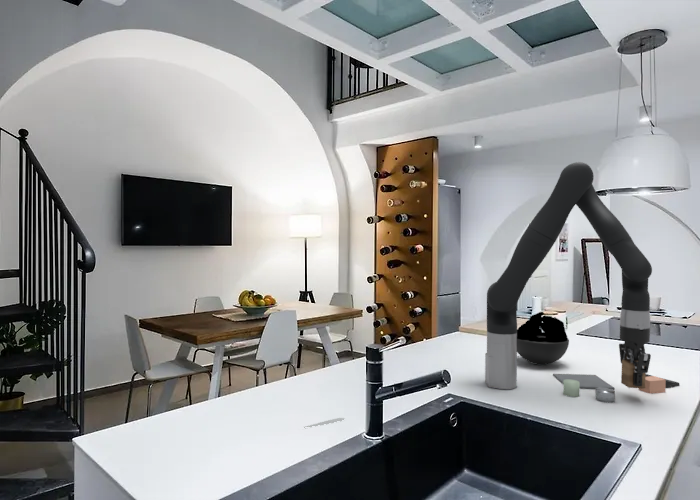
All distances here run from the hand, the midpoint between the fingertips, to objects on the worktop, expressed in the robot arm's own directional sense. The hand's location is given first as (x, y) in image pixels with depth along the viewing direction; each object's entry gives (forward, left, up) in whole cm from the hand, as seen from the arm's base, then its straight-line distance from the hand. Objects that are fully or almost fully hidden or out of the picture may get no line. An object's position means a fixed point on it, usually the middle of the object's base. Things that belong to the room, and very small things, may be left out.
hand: (633, 382), depth 137 cm
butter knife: (-93, -32, -5) cm, 99 cm away
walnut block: (0, 0, -1) cm, 1 cm away
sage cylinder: (-17, +2, -5) cm, 17 cm away
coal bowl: (-16, +37, -5) cm, 41 cm away
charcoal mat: (-9, +15, -5) cm, 18 cm away
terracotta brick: (+9, +8, -5) cm, 13 cm away
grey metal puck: (-9, -2, -5) cm, 10 cm away
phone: (+14, +19, -5) cm, 24 cm away
